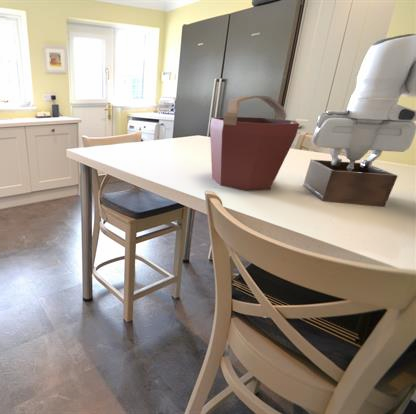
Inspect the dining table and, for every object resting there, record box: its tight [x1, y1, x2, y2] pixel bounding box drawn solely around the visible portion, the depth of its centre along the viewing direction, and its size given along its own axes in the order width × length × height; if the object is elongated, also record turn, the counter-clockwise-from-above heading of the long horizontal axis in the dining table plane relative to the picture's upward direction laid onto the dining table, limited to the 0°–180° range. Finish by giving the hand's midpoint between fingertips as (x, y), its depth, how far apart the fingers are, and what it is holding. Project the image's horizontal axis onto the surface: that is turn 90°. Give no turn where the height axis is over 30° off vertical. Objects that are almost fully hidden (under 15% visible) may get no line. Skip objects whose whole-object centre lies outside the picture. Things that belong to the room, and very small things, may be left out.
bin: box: [303, 159, 398, 207], centre depth 76 cm, size 14×14×8 cm
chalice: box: [344, 124, 382, 172], centre depth 74 cm, size 7×7×18 cm
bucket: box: [209, 95, 300, 192], centre depth 84 cm, size 24×22×25 cm
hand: (349, 166), depth 75 cm, fingers closed on chalice, 5 cm apart
